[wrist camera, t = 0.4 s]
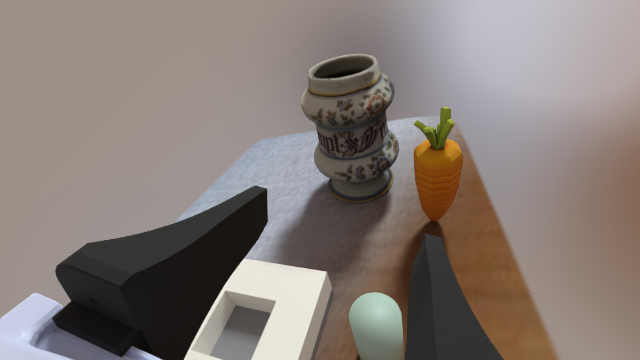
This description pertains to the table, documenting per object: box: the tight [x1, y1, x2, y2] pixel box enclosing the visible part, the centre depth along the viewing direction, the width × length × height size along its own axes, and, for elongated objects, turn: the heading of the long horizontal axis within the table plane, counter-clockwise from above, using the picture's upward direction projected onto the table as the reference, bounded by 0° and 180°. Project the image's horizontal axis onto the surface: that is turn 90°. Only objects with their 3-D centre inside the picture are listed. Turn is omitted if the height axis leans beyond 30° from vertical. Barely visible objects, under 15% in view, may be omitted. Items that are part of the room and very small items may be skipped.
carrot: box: [414, 107, 463, 221], centre depth 34 cm, size 5×5×15 cm
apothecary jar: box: [301, 54, 399, 203], centre depth 42 cm, size 12×12×18 cm
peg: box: [349, 293, 404, 360], centre depth 26 cm, size 4×4×7 cm
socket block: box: [184, 259, 333, 360], centre depth 30 cm, size 14×14×4 cm
